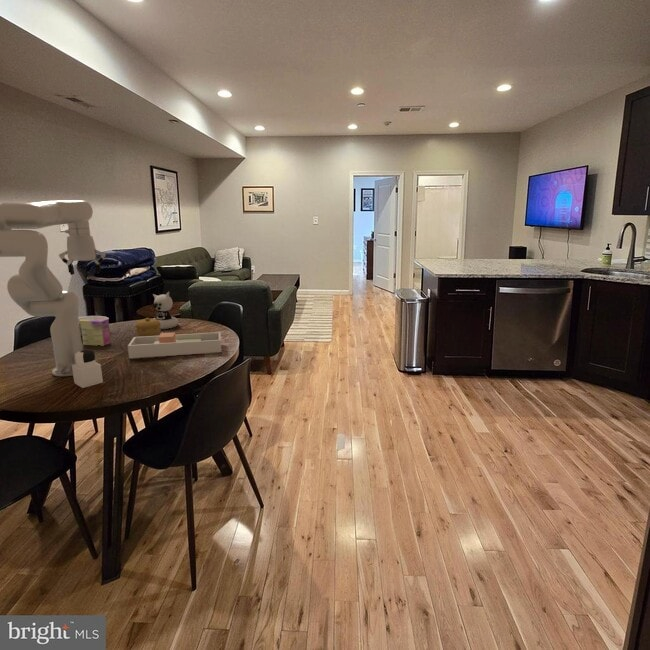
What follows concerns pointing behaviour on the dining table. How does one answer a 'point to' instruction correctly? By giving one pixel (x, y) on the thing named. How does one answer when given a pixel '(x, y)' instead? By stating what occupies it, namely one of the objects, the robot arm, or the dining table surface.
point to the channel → (175, 345)
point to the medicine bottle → (86, 369)
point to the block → (167, 337)
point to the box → (95, 331)
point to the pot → (148, 327)
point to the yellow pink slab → (91, 318)
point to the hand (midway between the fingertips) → (85, 274)
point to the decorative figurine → (164, 311)
